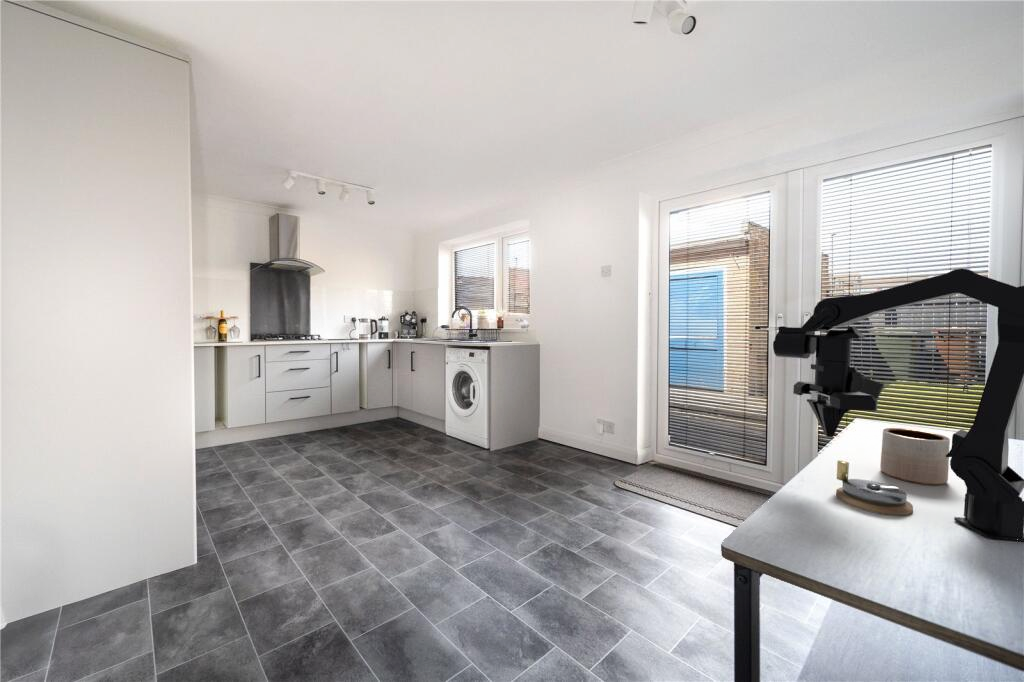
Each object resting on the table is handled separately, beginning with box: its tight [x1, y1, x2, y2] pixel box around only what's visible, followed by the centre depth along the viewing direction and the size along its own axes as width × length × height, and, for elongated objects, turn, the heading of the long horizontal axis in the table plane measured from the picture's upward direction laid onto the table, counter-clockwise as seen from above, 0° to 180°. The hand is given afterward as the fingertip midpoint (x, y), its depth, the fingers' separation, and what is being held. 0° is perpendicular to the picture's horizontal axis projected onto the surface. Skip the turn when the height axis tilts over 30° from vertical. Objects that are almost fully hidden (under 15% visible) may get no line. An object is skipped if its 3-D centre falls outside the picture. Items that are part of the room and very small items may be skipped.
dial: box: [836, 460, 908, 506], centre depth 81 cm, size 9×9×5 cm
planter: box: [880, 427, 951, 486], centre depth 94 cm, size 11×11×10 cm
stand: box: [835, 486, 914, 517], centre depth 81 cm, size 11×11×2 cm
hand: (829, 436), depth 88 cm, fingers closed
